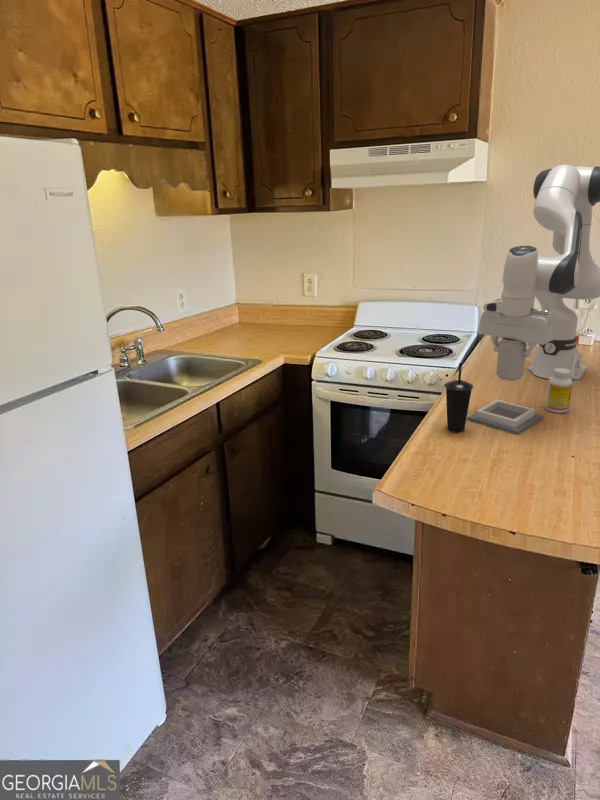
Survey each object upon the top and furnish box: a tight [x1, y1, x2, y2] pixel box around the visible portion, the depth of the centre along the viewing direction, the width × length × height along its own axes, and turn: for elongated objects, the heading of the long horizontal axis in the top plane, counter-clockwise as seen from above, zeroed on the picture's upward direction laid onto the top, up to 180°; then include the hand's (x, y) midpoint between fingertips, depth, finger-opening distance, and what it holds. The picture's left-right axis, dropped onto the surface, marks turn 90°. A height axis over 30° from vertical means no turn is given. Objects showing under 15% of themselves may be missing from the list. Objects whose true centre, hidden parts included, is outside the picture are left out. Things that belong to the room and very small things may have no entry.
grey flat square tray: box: [466, 399, 544, 436], centre depth 171 cm, size 16×16×3 cm
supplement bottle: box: [545, 368, 573, 414], centre depth 175 cm, size 7×7×13 cm
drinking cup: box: [444, 362, 474, 433], centre depth 163 cm, size 8×8×20 cm
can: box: [495, 338, 528, 382], centre depth 165 cm, size 8×8×12 cm
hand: (511, 354), depth 165 cm, fingers closed on can, 7 cm apart
